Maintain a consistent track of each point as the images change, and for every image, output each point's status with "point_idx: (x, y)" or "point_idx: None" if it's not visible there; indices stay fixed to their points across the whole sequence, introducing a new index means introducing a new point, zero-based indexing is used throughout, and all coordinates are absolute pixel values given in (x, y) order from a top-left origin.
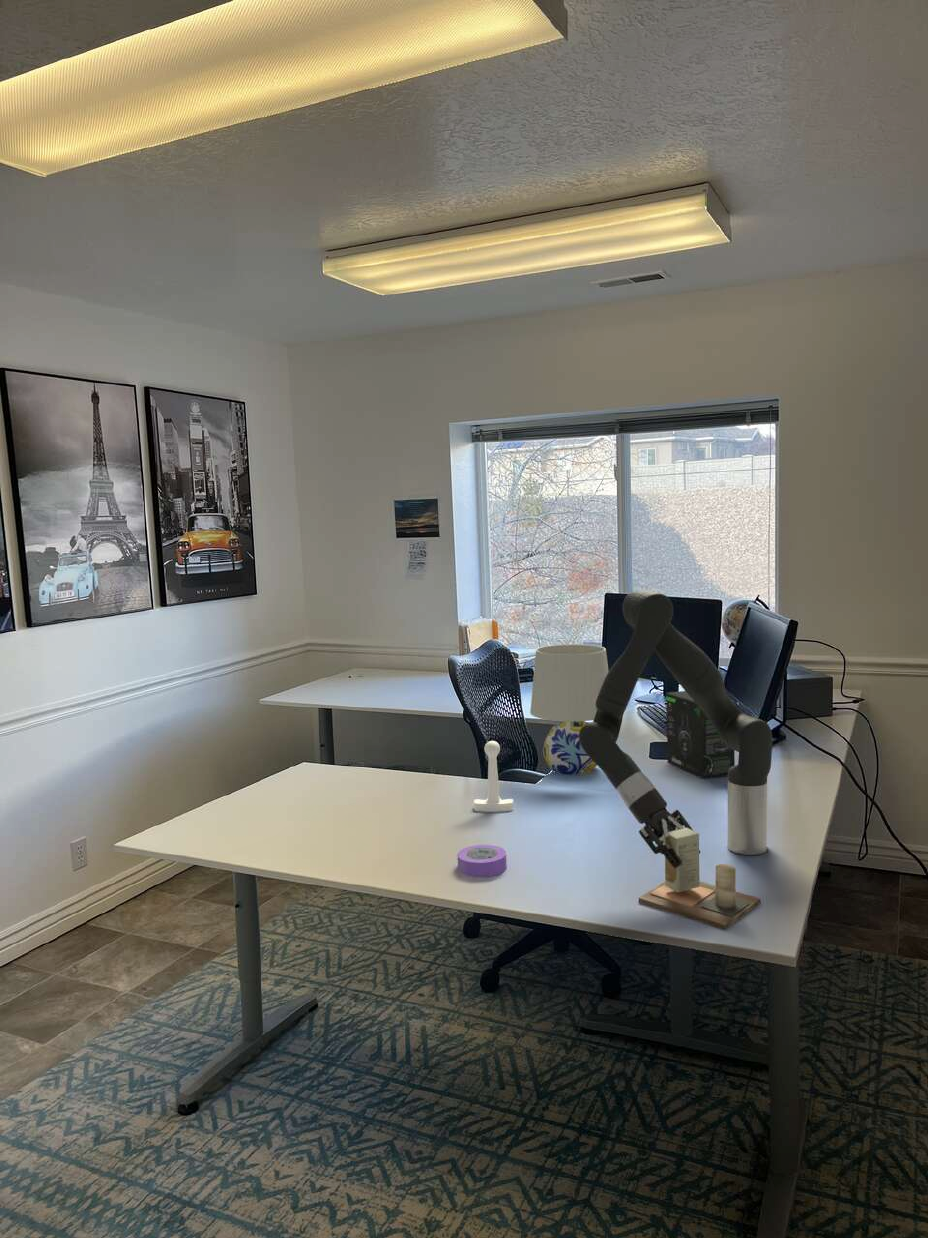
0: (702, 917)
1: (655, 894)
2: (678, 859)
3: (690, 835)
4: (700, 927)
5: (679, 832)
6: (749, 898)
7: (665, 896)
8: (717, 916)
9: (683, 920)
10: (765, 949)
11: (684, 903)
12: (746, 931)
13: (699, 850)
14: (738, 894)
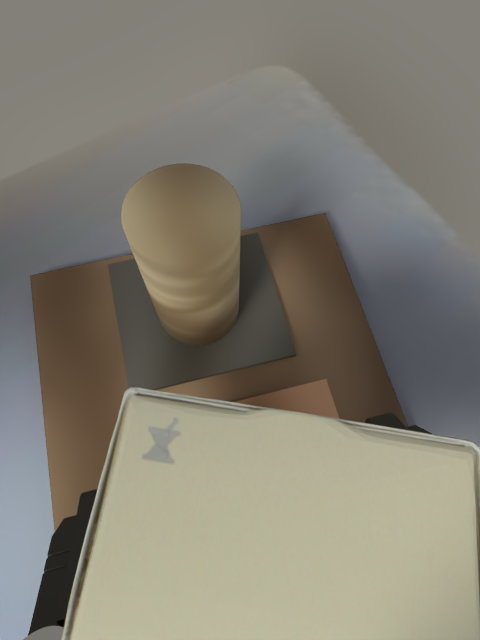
0: (353, 294)
1: None
2: (404, 427)
3: (255, 410)
4: (382, 281)
5: (307, 580)
6: (62, 299)
7: None
8: (298, 268)
9: (400, 354)
10: (311, 97)
11: (336, 416)
12: (269, 183)
13: (85, 495)
14: (59, 351)
